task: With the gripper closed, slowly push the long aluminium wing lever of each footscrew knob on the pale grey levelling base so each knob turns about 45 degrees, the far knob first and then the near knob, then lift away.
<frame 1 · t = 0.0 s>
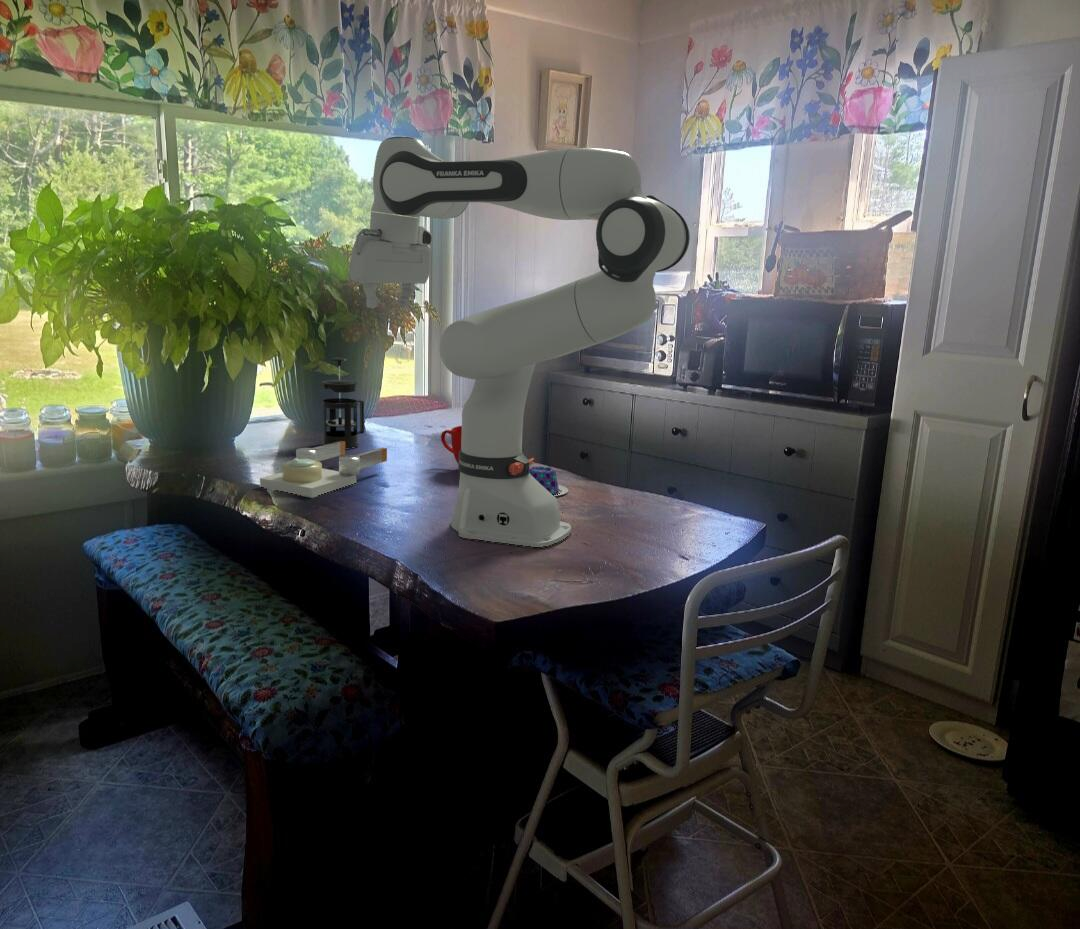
hand: (388, 307, 152), 39 cm above the table, tool pointing down, fingers open, 8 cm apart
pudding: (540, 493, 177), on the table
french press: (342, 446, 212), on the table
far knob: (322, 453, 184), point 4 cm above the table, hinge at 0.0°
ceramic cup: (470, 471, 192), on the table
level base: (309, 485, 173), on the table
near knob: (364, 461, 179), point 4 cm above the table, hinge at 0.0°
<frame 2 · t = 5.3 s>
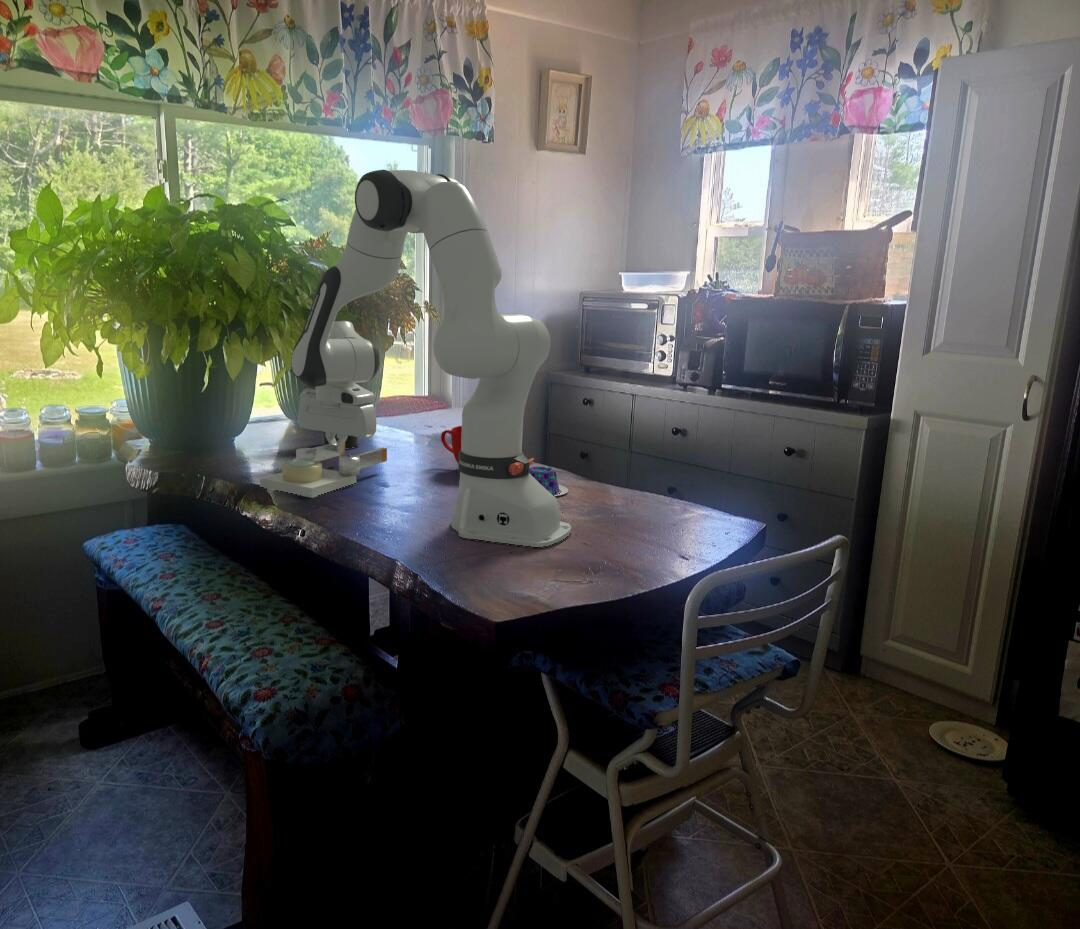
hand: (336, 451, 186), 4 cm above the table, tool pointing down, fingers closed
far knob: (322, 453, 184), point 4 cm above the table, hinge at 0.2°, touching gripper
everything else where it was.
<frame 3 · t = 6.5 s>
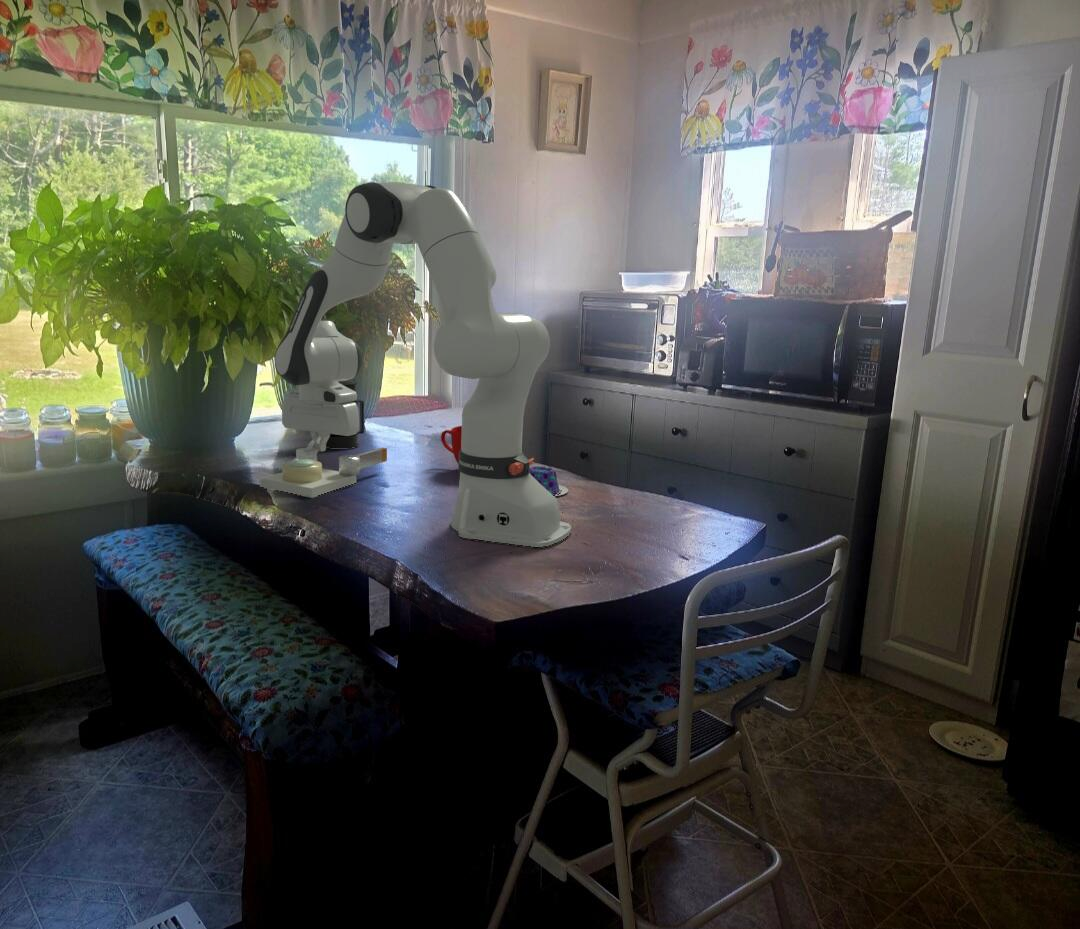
hand: (320, 450, 188), 4 cm above the table, tool pointing down, fingers closed
far knob: (310, 452, 185), point 4 cm above the table, hinge at 32.2°, touching gripper
everything else where it was.
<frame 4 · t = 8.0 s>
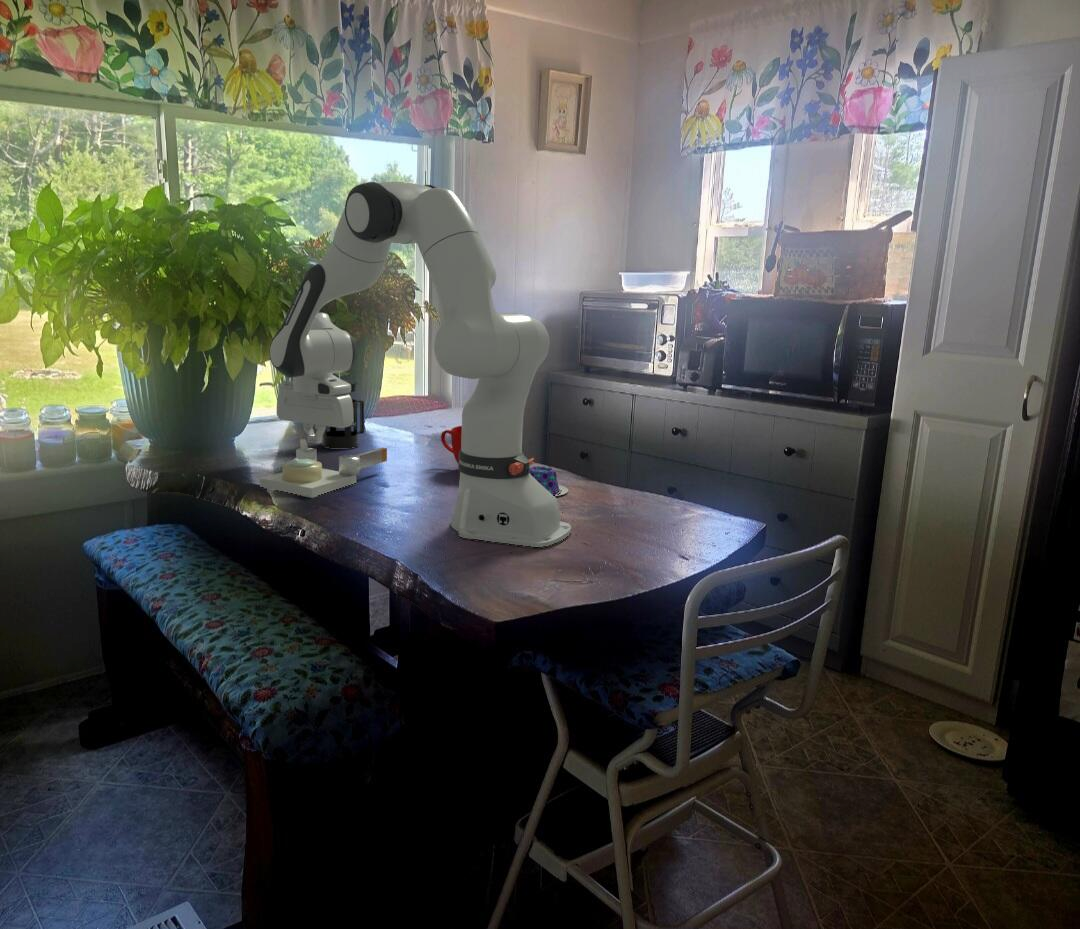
hand: (314, 442, 188), 6 cm above the table, tool pointing down, fingers closed
far knob: (305, 452, 185), point 4 cm above the table, hinge at 45.6°
everything else where it was.
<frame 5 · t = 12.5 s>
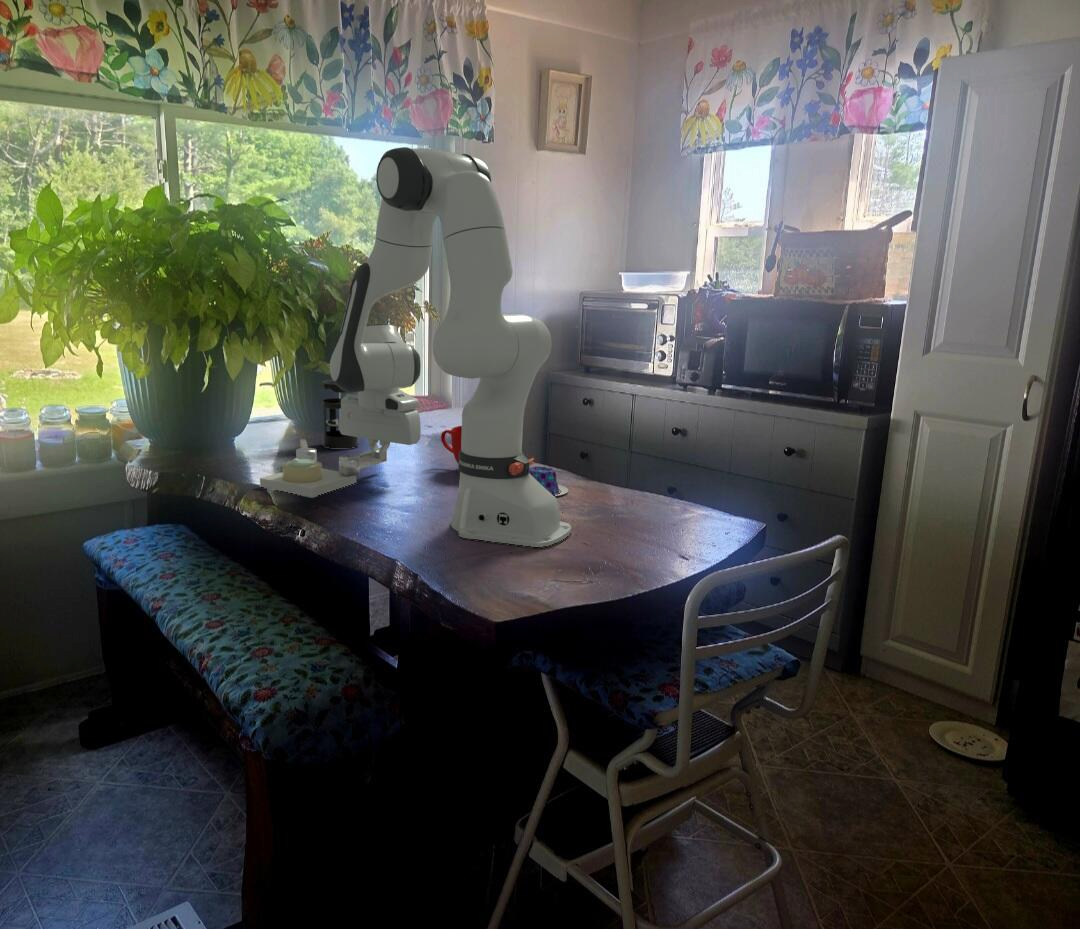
hand: (378, 459, 181), 4 cm above the table, tool pointing down, fingers closed
near knob: (364, 460, 179), point 4 cm above the table, hinge at 0.3°, touching gripper
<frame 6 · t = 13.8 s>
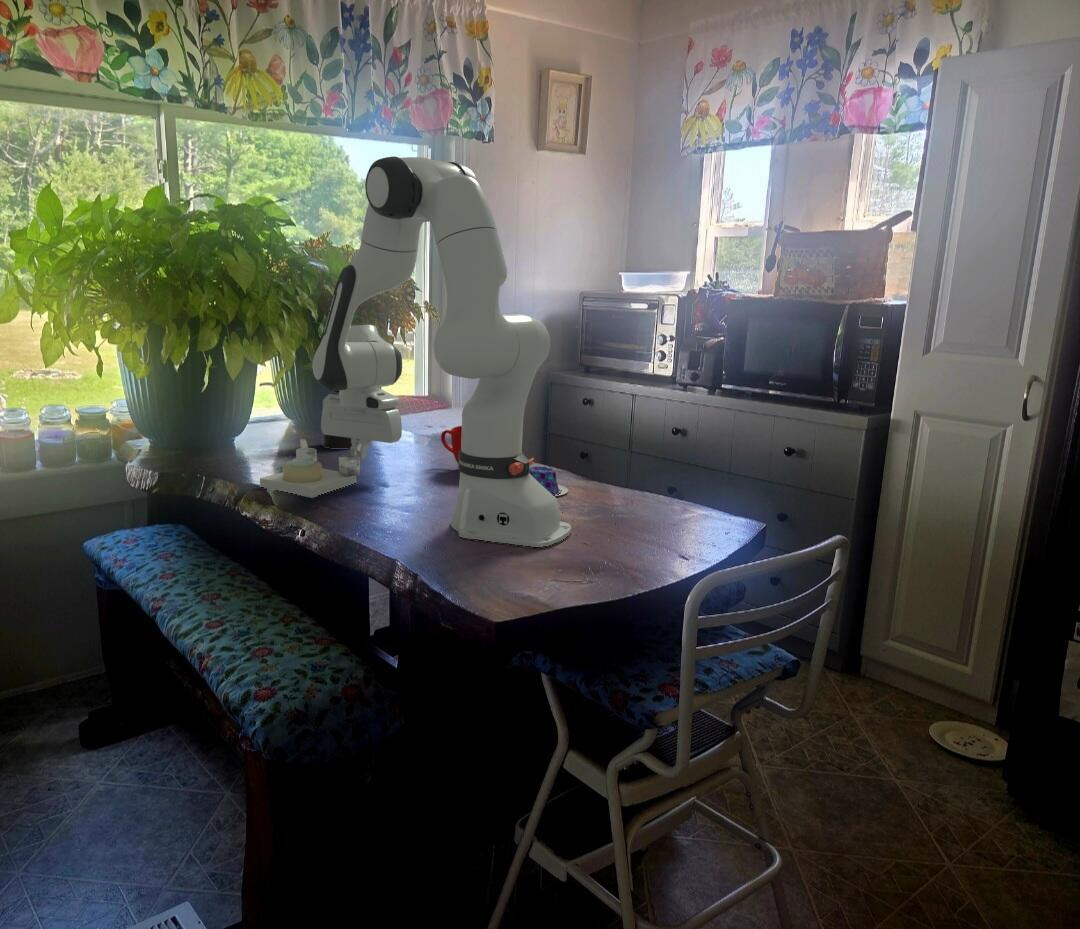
hand: (361, 458, 183), 4 cm above the table, tool pointing down, fingers closed
near knob: (351, 459, 180), point 4 cm above the table, hinge at 34.3°, touching gripper
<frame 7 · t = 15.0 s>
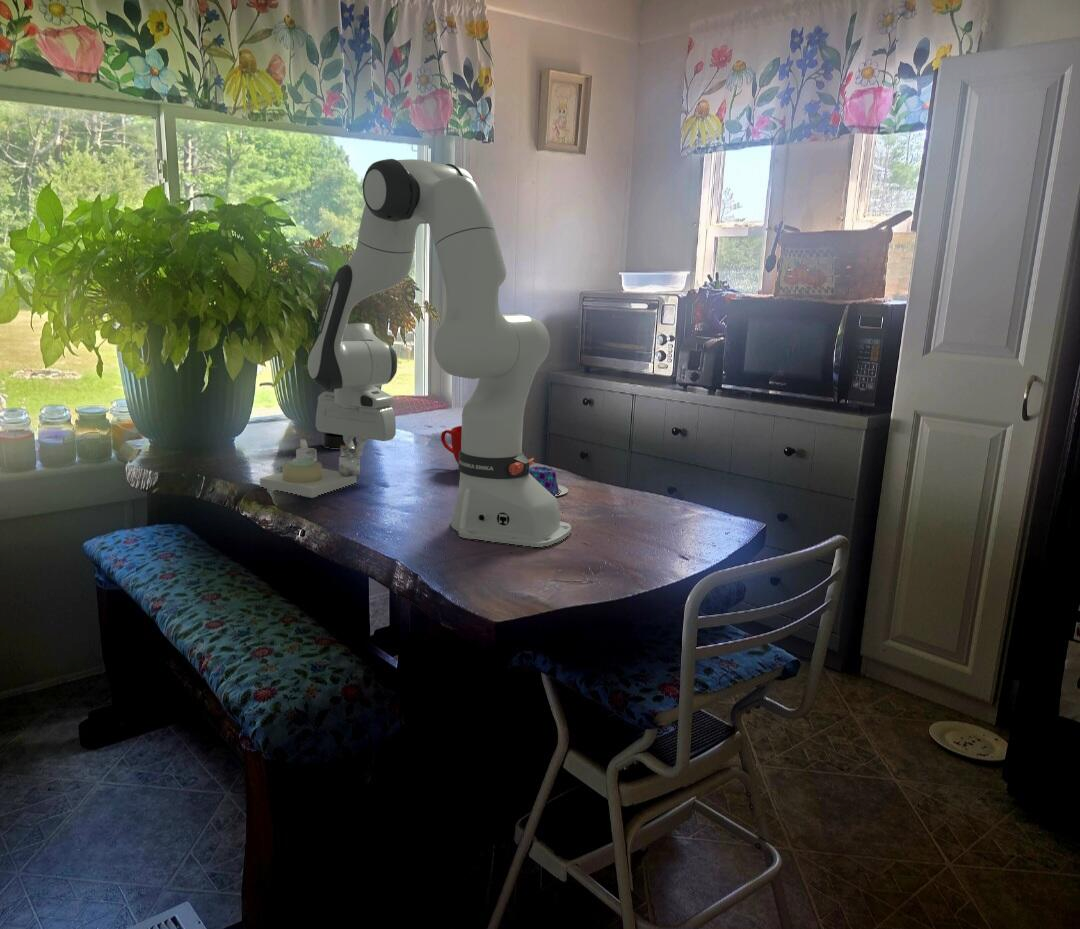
hand: (355, 455, 184), 4 cm above the table, tool pointing down, fingers closed
near knob: (346, 460, 180), point 4 cm above the table, hinge at 45.6°
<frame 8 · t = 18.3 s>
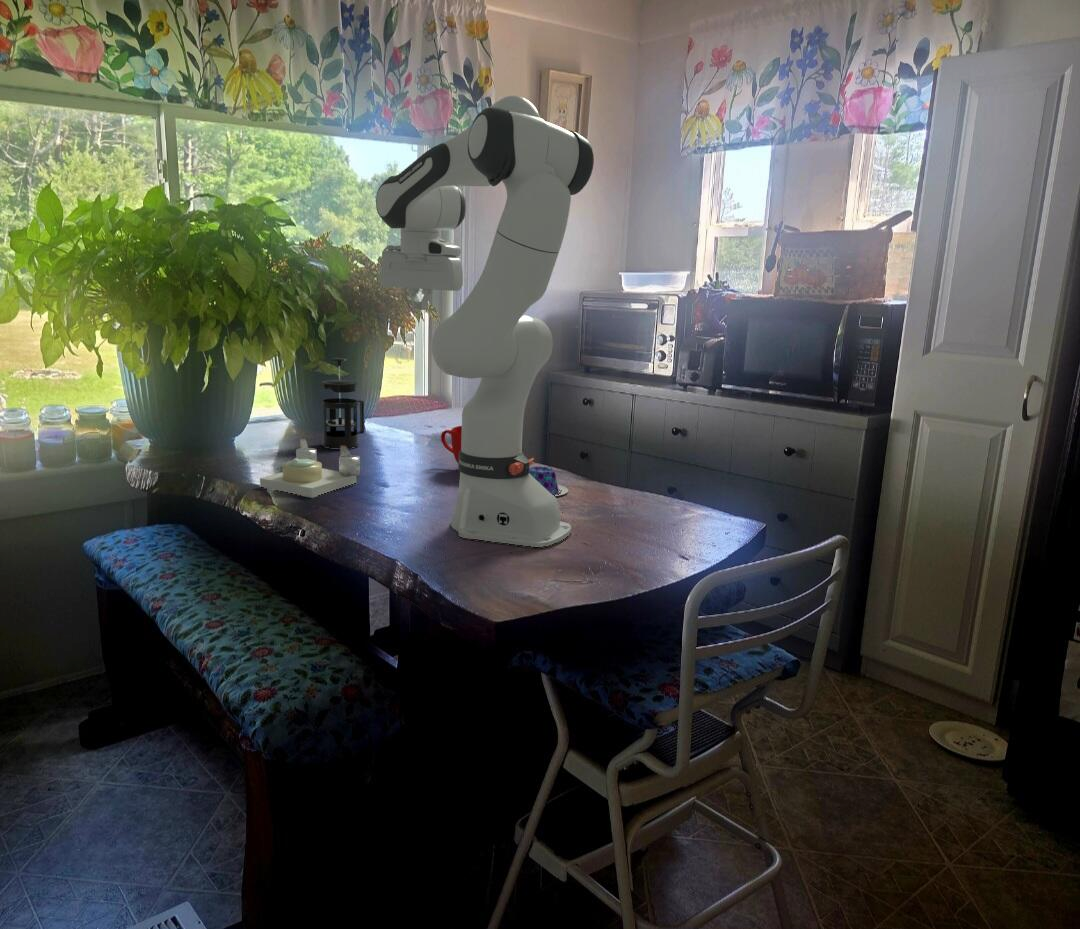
hand: (420, 309, 182), 37 cm above the table, tool pointing down, fingers closed
at the end: far knob at +46° (first picture: +0°); near knob at +46° (first picture: +0°) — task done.
